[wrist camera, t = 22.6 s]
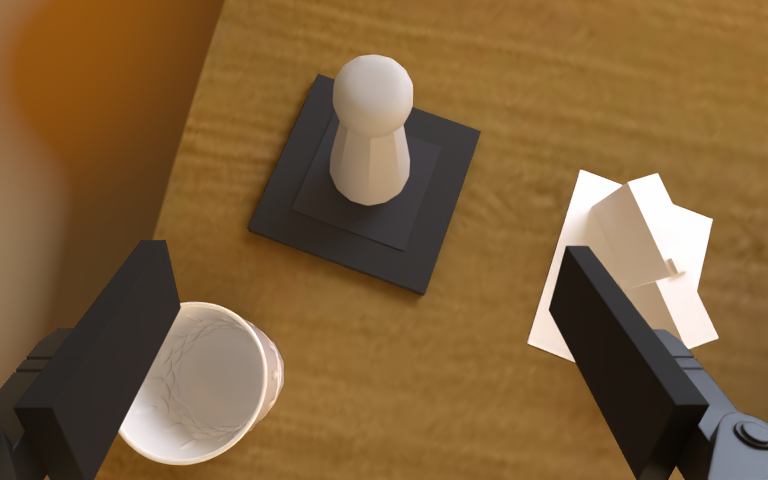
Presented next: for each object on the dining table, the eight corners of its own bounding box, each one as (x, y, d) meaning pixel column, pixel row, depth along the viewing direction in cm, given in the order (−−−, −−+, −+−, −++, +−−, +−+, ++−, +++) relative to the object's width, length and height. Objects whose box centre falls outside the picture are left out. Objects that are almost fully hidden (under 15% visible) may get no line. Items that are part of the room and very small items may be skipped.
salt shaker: (414, 155, 38) (443, 51, 25) (396, 222, 36) (416, 148, 24) (343, 135, 38) (335, 22, 25) (321, 202, 36) (301, 116, 24)
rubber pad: (249, 231, 37) (246, 228, 36) (318, 79, 40) (317, 72, 39) (423, 295, 36) (425, 294, 35) (478, 135, 40) (481, 130, 39)
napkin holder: (578, 168, 39) (613, 136, 34) (713, 217, 39) (771, 193, 33) (526, 345, 35) (557, 341, 30) (675, 402, 35) (734, 409, 29)
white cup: (165, 424, 33) (84, 449, 23) (196, 309, 35) (134, 289, 25) (279, 444, 33) (245, 478, 23) (303, 329, 35) (282, 316, 25)
